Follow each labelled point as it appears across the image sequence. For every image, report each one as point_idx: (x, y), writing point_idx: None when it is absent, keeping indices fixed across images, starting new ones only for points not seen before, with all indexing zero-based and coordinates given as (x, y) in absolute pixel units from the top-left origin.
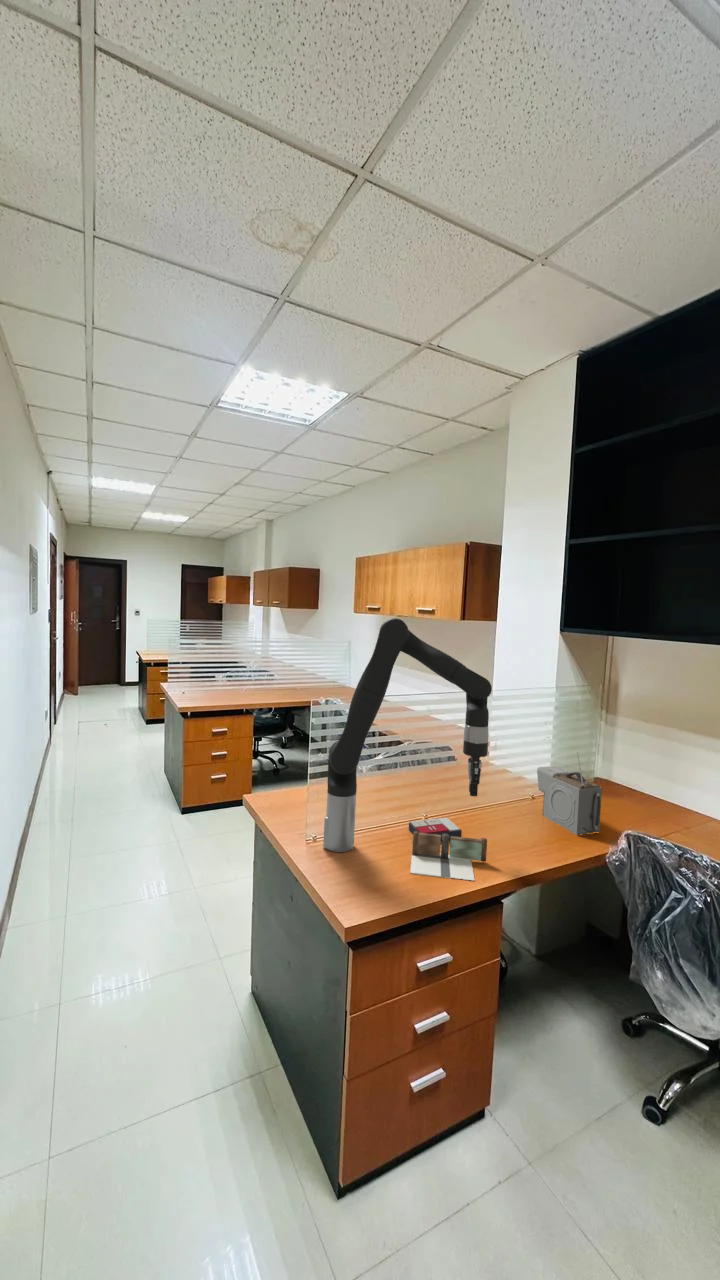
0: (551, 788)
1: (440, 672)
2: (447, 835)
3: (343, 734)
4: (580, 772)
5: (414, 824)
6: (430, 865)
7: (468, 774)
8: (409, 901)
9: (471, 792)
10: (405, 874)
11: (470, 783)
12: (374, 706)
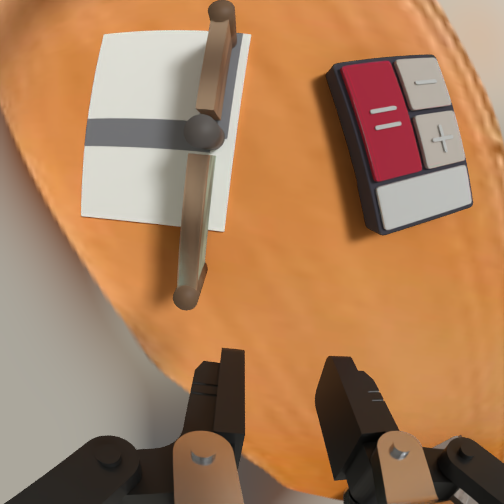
0: (464, 494)
1: None
2: (196, 138)
3: None
4: None
5: (413, 62)
6: (147, 86)
7: (470, 444)
8: (3, 59)
9: (215, 373)
10: (101, 25)
11: (181, 436)
12: None
